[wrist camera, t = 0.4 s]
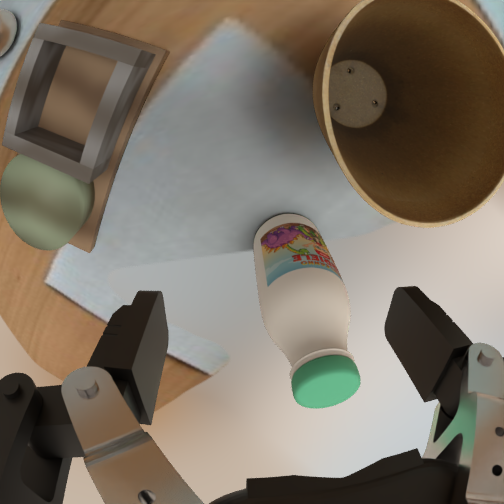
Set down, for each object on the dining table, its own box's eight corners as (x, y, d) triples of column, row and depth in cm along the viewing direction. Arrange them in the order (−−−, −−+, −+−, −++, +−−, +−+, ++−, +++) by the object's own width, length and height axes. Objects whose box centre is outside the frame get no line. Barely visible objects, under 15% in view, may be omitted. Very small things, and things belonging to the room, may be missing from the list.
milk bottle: (305, 275, 37) (350, 419, 20) (245, 263, 36) (255, 419, 19) (328, 220, 34) (405, 358, 17) (263, 204, 32) (295, 352, 15)
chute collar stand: (67, 21, 20) (37, 14, 15) (169, 51, 23) (154, 44, 18) (15, 208, 30) (-11, 229, 25) (94, 246, 34) (75, 275, 29)
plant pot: (405, 30, 22) (513, 19, 9) (413, 156, 30) (509, 216, 16) (268, 26, 23) (303, -31, 9) (287, 167, 30) (331, 244, 17)
